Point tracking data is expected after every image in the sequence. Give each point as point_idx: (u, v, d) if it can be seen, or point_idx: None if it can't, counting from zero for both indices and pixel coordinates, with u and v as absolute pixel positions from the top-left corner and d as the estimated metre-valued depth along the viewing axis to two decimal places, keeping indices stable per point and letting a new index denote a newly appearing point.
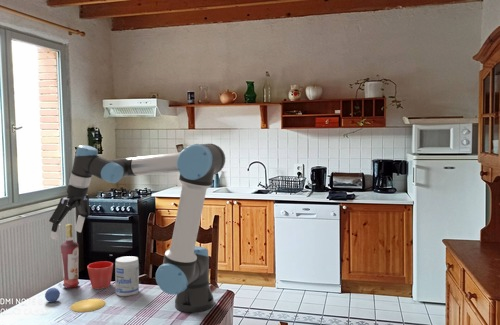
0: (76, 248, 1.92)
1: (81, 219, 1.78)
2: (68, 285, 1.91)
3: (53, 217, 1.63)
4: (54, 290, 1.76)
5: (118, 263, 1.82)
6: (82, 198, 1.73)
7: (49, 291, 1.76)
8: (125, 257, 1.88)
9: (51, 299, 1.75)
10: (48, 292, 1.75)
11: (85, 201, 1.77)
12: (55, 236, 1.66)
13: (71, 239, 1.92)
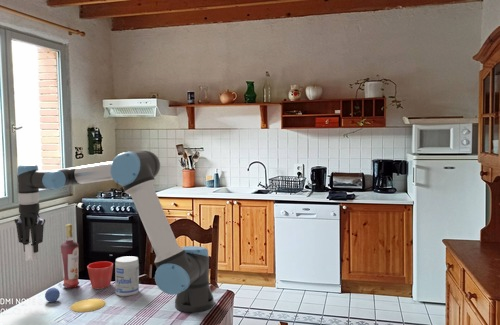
0: (76, 248, 1.92)
1: None
2: (68, 285, 1.91)
3: None
4: (54, 290, 1.76)
5: (118, 263, 1.82)
6: (33, 217, 1.76)
7: (49, 291, 1.76)
8: (125, 257, 1.88)
9: (51, 299, 1.75)
10: (48, 292, 1.75)
11: None
12: None
13: (71, 239, 1.92)
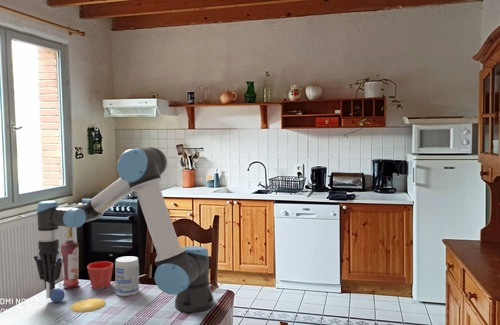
0: (76, 248, 1.92)
1: None
2: (68, 285, 1.91)
3: None
4: (61, 293, 1.76)
5: (118, 263, 1.82)
6: (53, 254, 1.75)
7: (56, 292, 1.75)
8: (125, 257, 1.88)
9: (55, 300, 1.75)
10: (54, 293, 1.75)
11: None
12: None
13: (71, 239, 1.92)
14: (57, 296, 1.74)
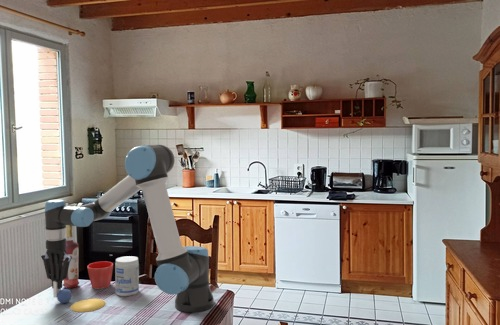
0: (76, 248, 1.92)
1: None
2: (68, 285, 1.91)
3: None
4: (69, 296, 1.75)
5: (118, 263, 1.82)
6: (60, 253, 1.74)
7: (64, 294, 1.74)
8: (125, 257, 1.88)
9: (61, 302, 1.74)
10: (63, 295, 1.74)
11: None
12: None
13: (71, 239, 1.92)
14: (64, 299, 1.74)
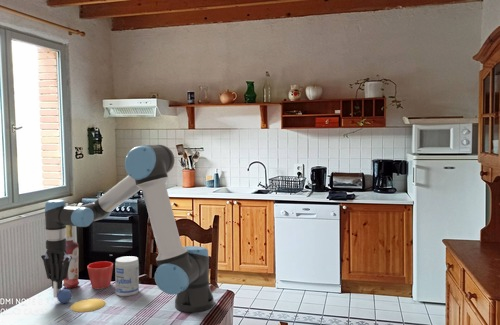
0: (76, 248, 1.92)
1: None
2: (68, 285, 1.91)
3: None
4: (69, 296, 1.75)
5: (118, 263, 1.82)
6: (60, 253, 1.74)
7: (64, 294, 1.74)
8: (125, 257, 1.88)
9: (61, 302, 1.74)
10: (63, 295, 1.74)
11: None
12: None
13: (71, 239, 1.92)
14: (65, 299, 1.74)
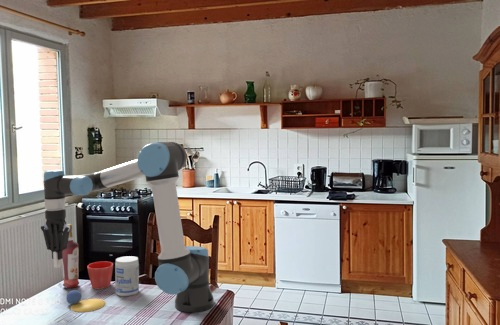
0: (76, 248, 1.92)
1: None
2: (68, 285, 1.91)
3: None
4: None
5: (118, 263, 1.82)
6: (60, 223, 1.73)
7: (73, 303, 1.73)
8: (125, 257, 1.88)
9: None
10: (73, 302, 1.72)
11: None
12: None
13: (71, 239, 1.92)
14: (70, 303, 1.73)
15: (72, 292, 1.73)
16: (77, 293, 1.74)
